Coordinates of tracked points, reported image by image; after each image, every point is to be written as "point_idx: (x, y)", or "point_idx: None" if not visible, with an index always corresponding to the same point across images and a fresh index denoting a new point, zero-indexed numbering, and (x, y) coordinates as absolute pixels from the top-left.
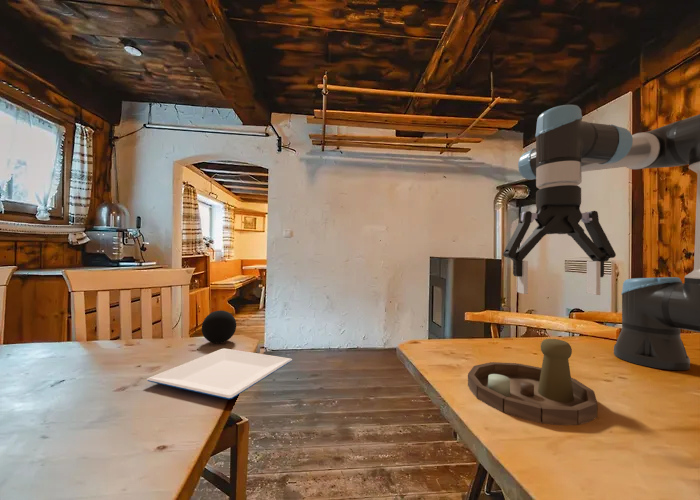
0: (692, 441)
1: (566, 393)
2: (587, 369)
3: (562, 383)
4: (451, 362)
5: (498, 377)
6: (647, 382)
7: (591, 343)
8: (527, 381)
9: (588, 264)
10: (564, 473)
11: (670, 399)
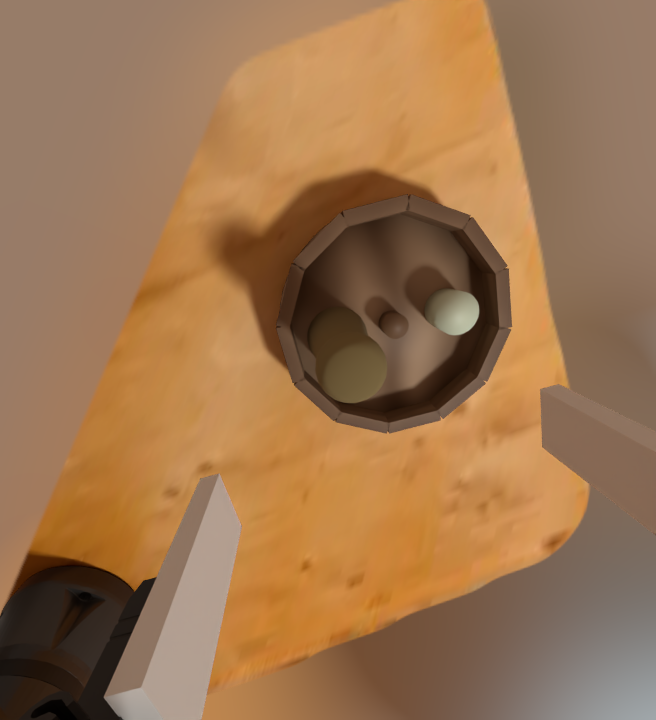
0: (158, 247)
1: (328, 313)
2: None
3: (337, 318)
4: (495, 452)
5: (458, 316)
6: (131, 485)
7: None
8: None
9: (192, 707)
10: (406, 55)
11: (122, 415)
